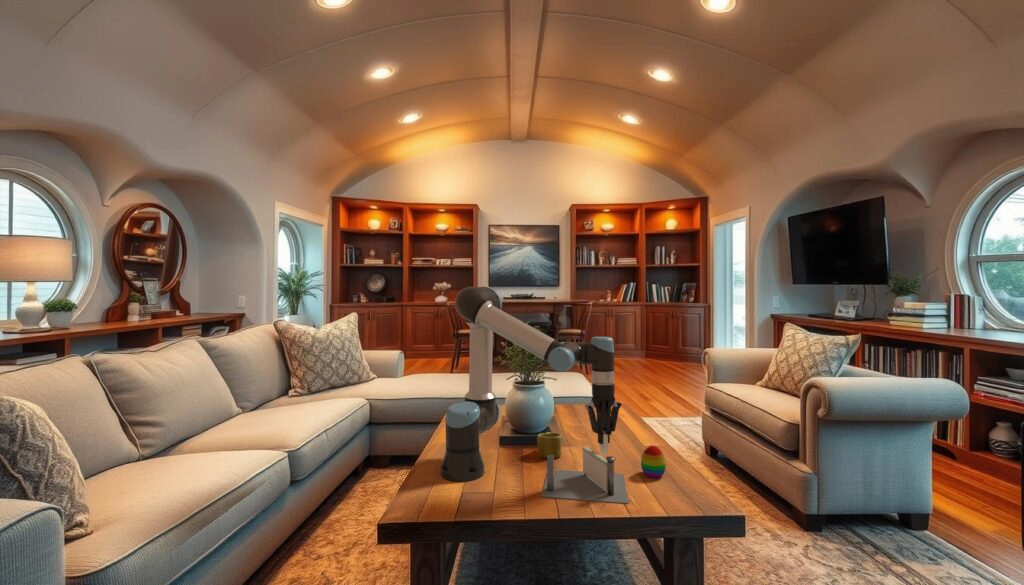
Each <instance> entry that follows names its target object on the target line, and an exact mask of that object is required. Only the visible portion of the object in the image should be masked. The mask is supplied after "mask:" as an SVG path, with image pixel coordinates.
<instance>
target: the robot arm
mask: <svg viewBox="0 0 1024 585" xmlns="http://www.w3.org/2000/svg"><path fill="white" fill-rule="evenodd" d="M454 300H455V301H454V306H455V310H456V312H457V313H458V315H459V316H460V317H461V318H463V319H464V320H465V323H466V324H467V326H469V370H468V371H469V372H468V380H469V381H468V391H467V393H466V394H465V395H464V401H460V402H456V403H453V404H451V405H449V406H448V407H447V409H446V411H445V418H444V420H445V453H444V456H443V459H442V462H441V465H440V476H441V477H442V478H443V479H445V480H447V481H452V482H469V481H473V480H478V479H479V478H481V477H483V476H484V474H485V464H484V460H483V457H482V454H481V451H480V436H481V435H483V434H484V433H485V432H486V431H489V430H491V429H492V428H493V427H495V425H496V424H497V423H498V421H499V419H500V416H501V408H500V405H499V403H498V402H497V397H496V396H497V395H496V394H495V393H494V392H493V352H494V350H493V345H494V344H493V343H494V342H493V341H494V334H493V333H496V335H499V336H500V337H502V338H504V339H506V340H508V341H509V342H511V343H513V344H515V345H517V346H518V347H520V348H522V349H523V350H525V351H527V352H529V353H531V354H532V355H535V356H536V357H537V358H539V359H542V360H543V361H545V362H547V363H548V364H549V367H550V368H551V369H553V370H554V371H556V372H559V373H560V372H566V371H569V370H571V369H572V367H575V366H577V365H586V366H591V382H592V383H591V394H592V397H591V400H590V402H589V403H588V404H585V406H584V408H585V409H586V411H587V413H588V414H587V415H588V418H589V422H590V426H591V430H592V432H593V433H594V434H597V443H598V444H599V453H601V454H602V455H603V456H605V455H608V454H609V444H610V443H611V442H610V441H611V440H610V439H611V438H610V436H611V435H612V432H615V430H616V427H617V422H618V418H619V417H618V416H619V412H620V411H619V410H620V408H621V407H622V403H621V402H619V401H617V400H616V397H615V391H616V390H615V387H616V386H615V345H614V339H613V338H612V337H610V336H593V337H591V339H590V342H578V341H577V342H575V341H574V342H573V341H561V342H559V340H558V341H557V340H556V339H554V338H553V337H551V336H549V335H548V334H545V333H544V332H541V331H540V330H538V329H536V328H535V327H532V326H530V325H529V324H527V323H525V322H523V321H522V320H521V319H518V318H517V317H514V316H513V315H511V314H509V313H507V312H505V311H503V310H502V306H503V302H502V297H501V296H500V294H499V293H498V292H497V290H495V289H493V288H491V287H488V286H487V287H486V286H467V287H464V288H462V289H461V290H459V292H458V293H457V295H456V297H455V299H454ZM594 409H595V410H594Z"/></svg>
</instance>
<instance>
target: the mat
mask: <svg viewBox="0 0 1024 585" xmlns="http://www.w3.org/2000/svg"><path fill="white" fill-rule="evenodd" d="M625 479H626V478H625V473H614V495H613V496H609V495H607V490H606V489H605V488H603V487H602V486H601V485H599V484H598V483H597V482H595V481H594V480H593V479H591V478H590V477H589V476H587V475H584V473H583V470H582V471H581V470H569V469H568V470H567V469H566V470H565V469H556V475H555V476H554V491H547V475H545V480H544V485H543V488H542V493H541V494H540V495H541V496H540V498H546V499H559V500H570V501H571V500H574V501H575V500H576V501H584V502H585V501H587V502H599V503H608V504H609V503H613V504H625V505H629V499H628V498H629V497H628V491H627V486H626V480H625Z"/></svg>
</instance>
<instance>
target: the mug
mask: <svg viewBox="0 0 1024 585" xmlns="http://www.w3.org/2000/svg"><path fill="white" fill-rule="evenodd" d="M562 439H563V438H562V434H560V433H558V432H551V431H547V432H545V433H544V432H542V433H539V434H538V435H537V436H536V442H537V450H538V455H539V457H540V458H542V459H547V456H548V455H554V459H557V458H560V457H561V456H562Z"/></svg>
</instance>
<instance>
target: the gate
mask: <svg viewBox="0 0 1024 585" xmlns="http://www.w3.org/2000/svg"><path fill="white" fill-rule="evenodd" d="M581 449H582V471H583V473H584V475H587V476H589V477H590V478H591V479H593V480H594V481H595V482H597V483H598V484H599V485H601V486H602V487H603V488H605V489H606V490H607V460H606V457H604V456H602V455H601V454H600V453H598V452H596V451H594V450H593V449H591V448H590V447H588V446H582V448H581Z"/></svg>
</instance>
